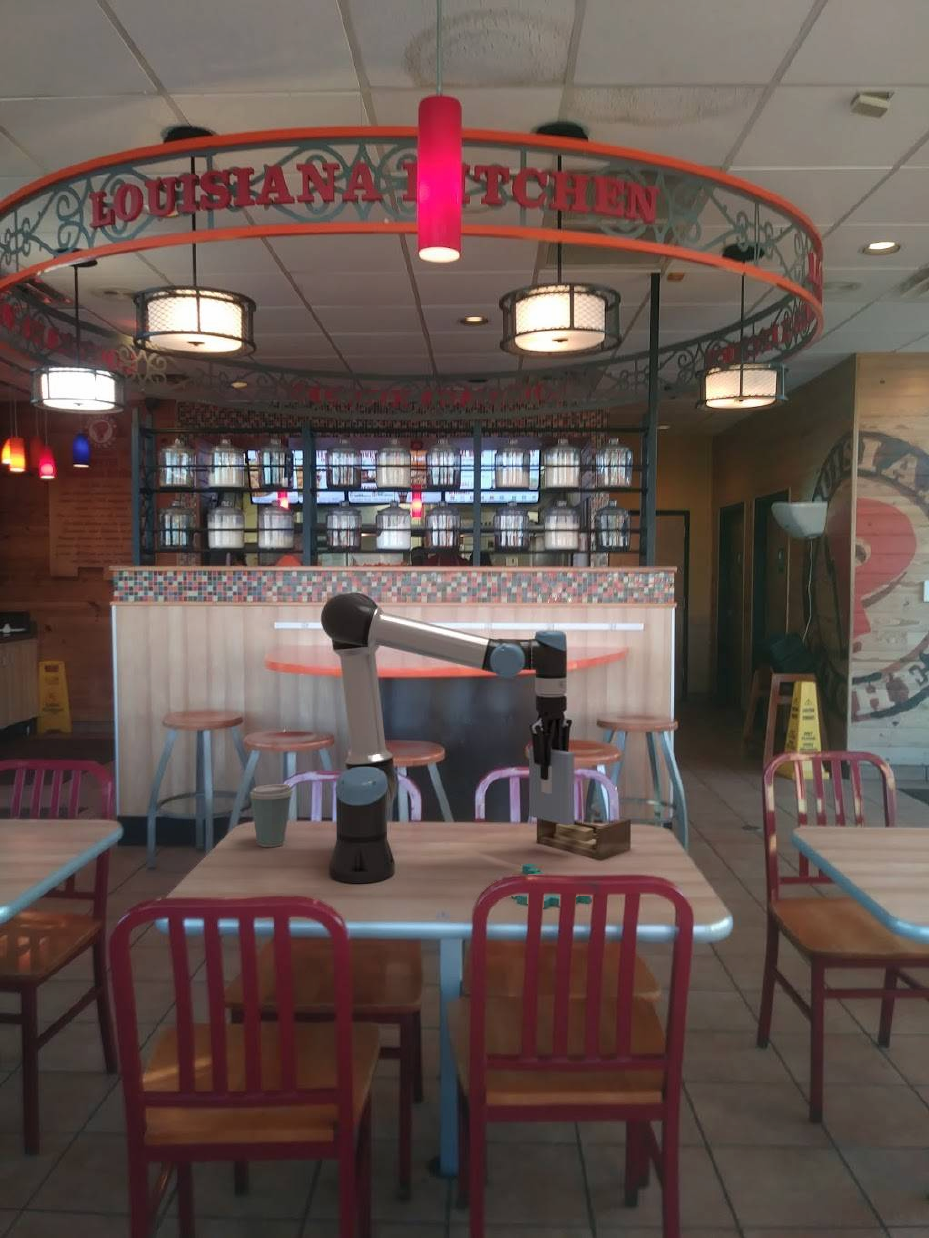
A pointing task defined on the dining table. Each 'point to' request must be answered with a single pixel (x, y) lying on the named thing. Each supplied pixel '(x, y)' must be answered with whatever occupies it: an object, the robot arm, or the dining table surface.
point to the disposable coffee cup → (270, 813)
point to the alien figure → (549, 899)
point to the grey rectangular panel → (553, 789)
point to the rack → (607, 838)
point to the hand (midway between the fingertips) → (551, 791)
